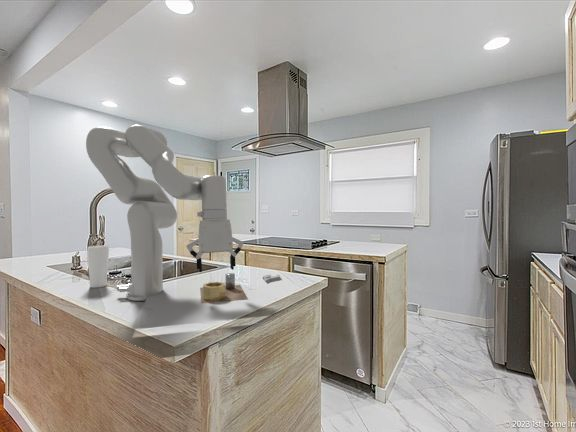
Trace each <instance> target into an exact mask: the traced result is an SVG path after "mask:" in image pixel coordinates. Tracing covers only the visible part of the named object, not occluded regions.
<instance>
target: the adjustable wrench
mask: <svg viewBox="0 0 576 432" xmlns="http://www.w3.org/2000/svg"><path fill="white" fill-rule="evenodd" d="M262 279H263V281H264V282H265V283H266V284H267V283H270V282H274V281H280V279H281V275H280V274H277V275H274V276H272V274H266V275H263V276H262Z"/></svg>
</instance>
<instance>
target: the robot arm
mask: <svg viewBox="0 0 576 432" xmlns="http://www.w3.org/2000/svg"><path fill="white" fill-rule="evenodd" d="M85 148H86V154H87V156H88V158H89V159H90V162H91V163H92V164H93V166H94V167H95V168H96V169H97V170H98V171H99V173H100V174H101V175H102V177H103V178H104V180H105V181H106V183H107V184H108V187H110V189H111V190H112V192H113V194H114V195H115V197H116V198H117V199H118V200H119V201H120V203H123V204H125V205H131V206H130V207H129V208H128V211H127V214H126V218H127V225H128V228H129V229H128V230H129V235H130V252H131V253H130V254H131V256H130V259H131V260H130V265H131V266H130V267H131V268H130V269H131V270H130V271H131V273H130V275H131V280H130V283H128V284H119V285H116V291H117V292H119V293H125V292H126V297H125V298H126V299H127V300H129V301H135V302H143V301H147V299H148V297H149V296H152V295H157V294H160V293H161V292H163V289H164V288H163V287H164V286H163V283H164V282H163V279H164V278H163V272H164V271H163V264H164V263H163V240H162V236H161V233H160V230H162V229H166V228H167V229H168V228H171V227H173V225H174V224H176V222H177V219H178V212H177V209H176V207H175V205H174V204H173V203H172V201H171V200H170V198H169V197H168V195H170V196H171V197H173V198H174V199H175V200H176V199H177V200H183V201H201V211H197V215H196V217H199V218H202V220H199V225H198V238H197V239H195V240H193V241H191V242H190V243H188V244H187V245H186V249H187V250H188V252H189V253H190V255H191V256H193V257H194V258H195V260H196V270H199V273H202V272H203V269H202V267H203V264H202V261H203V260H202V256H203V255H204V254H210V253H211V254H212V253H225V252H229V253H230V256H229V265H230V266H229V267H230V269H231V270H235V269H234V268H235V267H236V264H237V263H236V256H237V255H238V254H239V253H240V252H241V250H242V248H243V246H244V241H242V240H240V239H238V238H236V237H234V236H233V233H232V232H233V231H232V223H231V219H228V210H227V209H228V208H227V206H228V205H227V203H228V202H227V181H226V178H225V176H222V175H216V174H215V175H214V174H213V175H212V174H211V175H204V176H203V177H198V176H193V175H187V174H184V173H182V172H181V171H180V170H179V169H178V168H177V167H176V166H174V164H173V163H172V162H173V161H174V159H175V158H174V157H175V155H174V154H175V153H174V152H173V150H172V149H171V148H169V147H168V141H167V138H166V137H165V135H164V134H163V133H162V132H160V131H159V130H155V129H153V128H150V127H148V126H145V125H141V124H134V125H130V126H128V127H127V129H126V130H125V131H122V130H119V129H115V128H112V127H109V126H108V127H107V126H97V127H94V128H92V129H90V130H89V131H88V134H87V136H86V141H85ZM120 156H121V157H125V158H141V159H142V160H143V161H144V162H145V163H146V164H147V165H148V166H149V167H150V168H151V171H152V172H151V173H152V175H153V178H154V180H152V179H149V178H146V177H145V178H143V177H139V176H137V175H136V174H135V173H134V172H133V171H132V170H131V168H130V166H129V165H128V163H126V162H125V161H124V160H123V159H122V158H121V157H120ZM166 193H167V194H168V195H167V194H166ZM234 243H235V244H237V247H235V249H234V250H233V245H234ZM196 245H198V252H196V251H195V250H194V248H193V247H194V246H196Z"/></svg>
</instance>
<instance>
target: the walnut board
mask: <svg viewBox="0 0 576 432" xmlns="http://www.w3.org/2000/svg"><path fill="white" fill-rule="evenodd" d="M246 300H249V298H248V296H247V294H246V293H245V291H244V289H243V287H242V286H241V284H235V289H233V290H227V289H226V285H225V298H223V299H221V300H213V301H209V300H204V299H203V287H200V304H208V303H209V304H210V303H221V302H233V301H246Z"/></svg>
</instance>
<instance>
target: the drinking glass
mask: <svg viewBox="0 0 576 432" xmlns="http://www.w3.org/2000/svg"><path fill="white" fill-rule="evenodd" d="M109 254H110V253H109V245H101V244H100V245H90V246H87V250H86V256H87V258H86V259H87V268H88V269H87V270H88V275H89V287H90V288H93V289H98V288H102V287H105V286H107V284H108V281H107V280H108V270H109V268H108V267H109V257H110V255H109Z"/></svg>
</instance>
